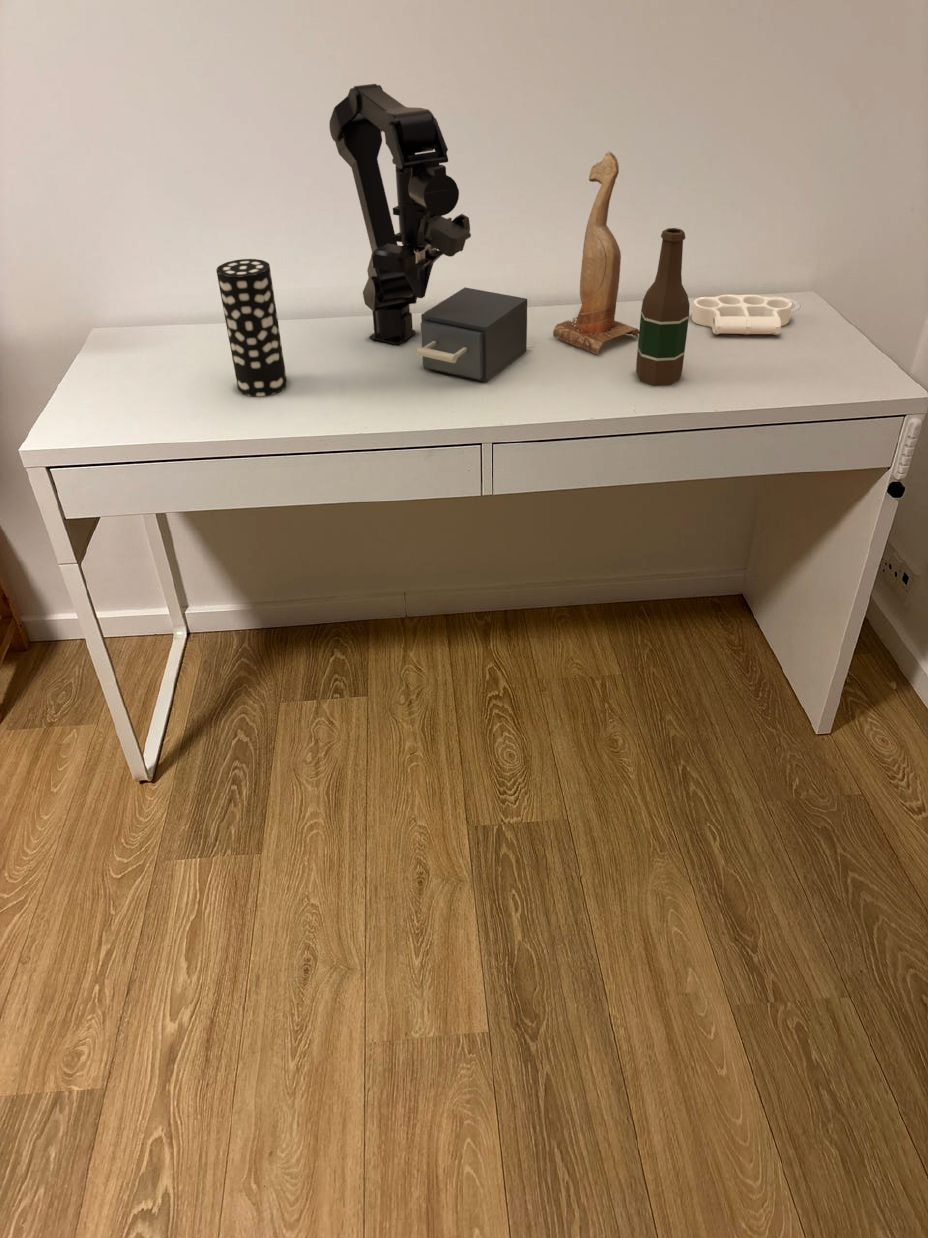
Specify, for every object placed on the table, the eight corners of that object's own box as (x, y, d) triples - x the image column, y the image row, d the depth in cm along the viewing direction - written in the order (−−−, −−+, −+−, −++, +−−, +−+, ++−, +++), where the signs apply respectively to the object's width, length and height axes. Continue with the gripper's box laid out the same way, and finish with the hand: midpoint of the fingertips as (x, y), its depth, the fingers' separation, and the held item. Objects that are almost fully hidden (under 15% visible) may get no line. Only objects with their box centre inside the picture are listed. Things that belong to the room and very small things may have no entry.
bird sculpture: (590, 322, 183) (600, 137, 163) (640, 338, 177) (657, 148, 157) (551, 339, 177) (557, 150, 157) (601, 357, 171) (614, 161, 151)
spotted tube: (240, 377, 168) (219, 260, 156) (288, 374, 168) (271, 257, 156) (235, 398, 161) (213, 277, 149) (285, 394, 162) (267, 274, 149)
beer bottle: (684, 370, 166) (703, 224, 151) (677, 389, 160) (695, 239, 145) (639, 364, 168) (653, 220, 153) (630, 383, 162) (643, 235, 147)
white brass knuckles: (696, 338, 176) (688, 308, 188) (797, 339, 175) (783, 308, 186) (698, 320, 174) (690, 291, 185) (800, 320, 173) (786, 291, 184)
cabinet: (486, 382, 164) (486, 327, 158) (423, 368, 169) (420, 314, 163) (526, 351, 174) (527, 298, 168) (466, 338, 179) (464, 286, 173)
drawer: (465, 390, 159) (464, 345, 155) (407, 377, 164) (404, 332, 159) (517, 350, 172) (518, 307, 167) (462, 339, 176) (461, 296, 171)
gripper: (427, 222, 143) (432, 324, 153) (488, 190, 156) (489, 287, 166) (365, 212, 148) (374, 312, 158) (430, 182, 160) (434, 277, 170)
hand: (420, 297), depth 163 cm, fingers closed
